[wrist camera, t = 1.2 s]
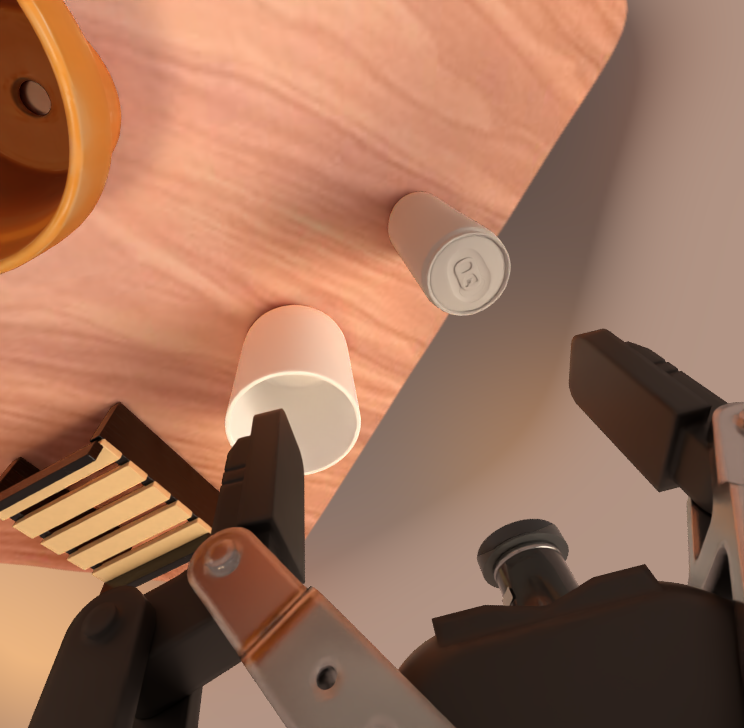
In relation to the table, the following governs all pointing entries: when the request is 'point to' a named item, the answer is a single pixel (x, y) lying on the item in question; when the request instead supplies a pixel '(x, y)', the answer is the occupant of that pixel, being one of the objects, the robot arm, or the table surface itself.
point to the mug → (298, 383)
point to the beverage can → (448, 254)
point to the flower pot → (50, 129)
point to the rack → (114, 504)
